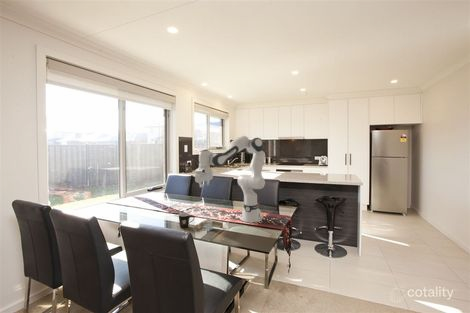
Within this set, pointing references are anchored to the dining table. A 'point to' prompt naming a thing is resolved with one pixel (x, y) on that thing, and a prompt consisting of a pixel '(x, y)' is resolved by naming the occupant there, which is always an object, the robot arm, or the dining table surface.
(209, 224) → the bracket
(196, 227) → the corner walls
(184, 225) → the coffee mug
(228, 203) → the dining table surface
